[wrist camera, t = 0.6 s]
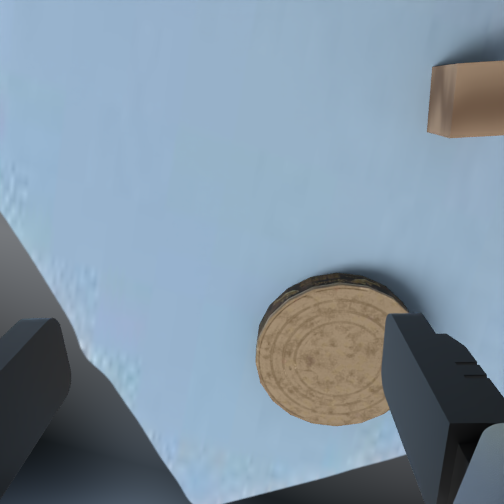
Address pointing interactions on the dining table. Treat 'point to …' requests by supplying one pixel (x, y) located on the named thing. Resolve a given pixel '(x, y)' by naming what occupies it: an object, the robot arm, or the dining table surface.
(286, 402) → the round wood slice
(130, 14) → the dining table surface
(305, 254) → the dining table surface
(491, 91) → the walnut block
